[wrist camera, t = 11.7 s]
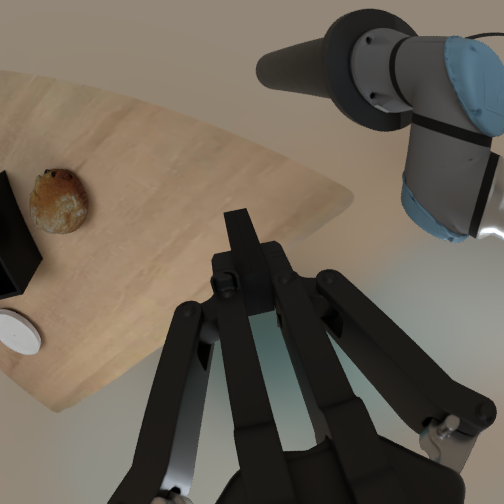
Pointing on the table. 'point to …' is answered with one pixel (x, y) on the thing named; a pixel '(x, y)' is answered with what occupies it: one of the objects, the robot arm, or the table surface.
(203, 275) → the table surface
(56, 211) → the bread roll
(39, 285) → the table surface
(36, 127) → the table surface
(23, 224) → the black storage bin
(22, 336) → the plastic lid
